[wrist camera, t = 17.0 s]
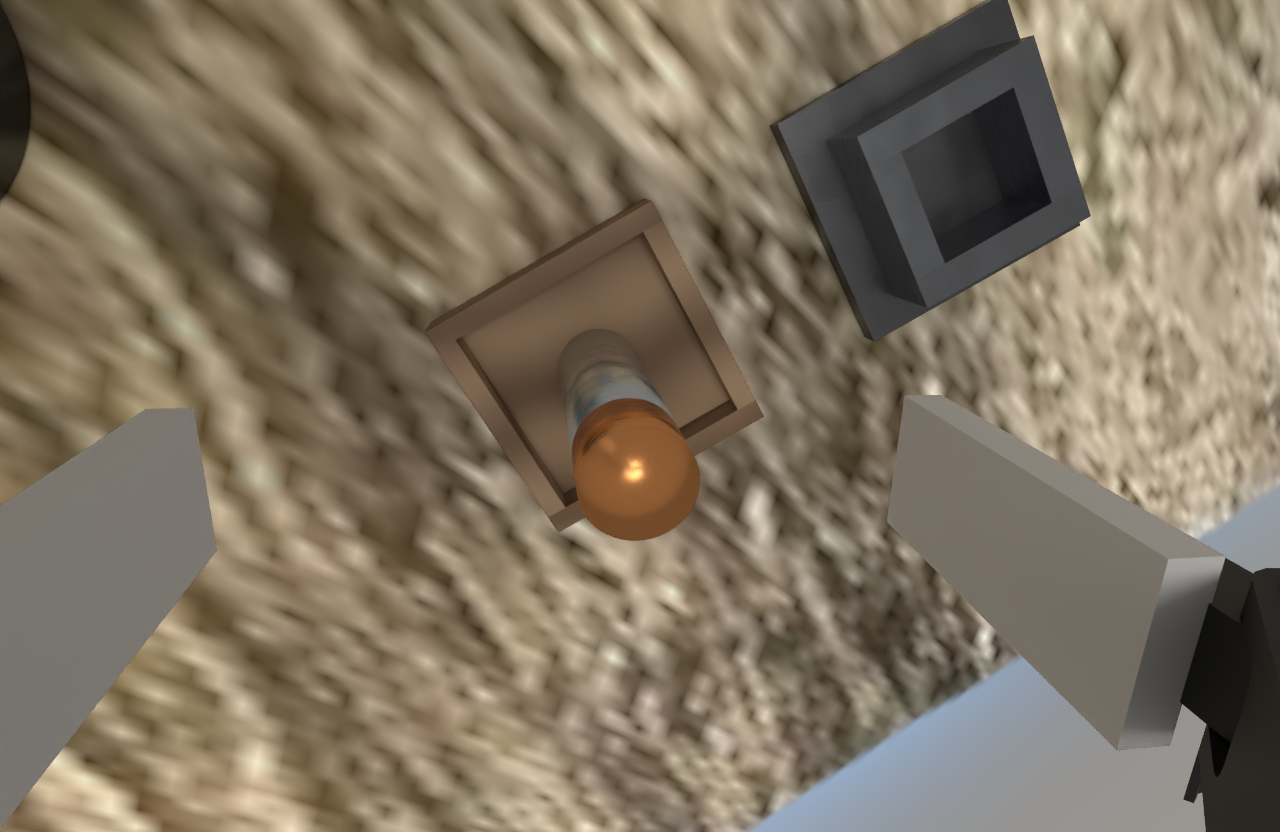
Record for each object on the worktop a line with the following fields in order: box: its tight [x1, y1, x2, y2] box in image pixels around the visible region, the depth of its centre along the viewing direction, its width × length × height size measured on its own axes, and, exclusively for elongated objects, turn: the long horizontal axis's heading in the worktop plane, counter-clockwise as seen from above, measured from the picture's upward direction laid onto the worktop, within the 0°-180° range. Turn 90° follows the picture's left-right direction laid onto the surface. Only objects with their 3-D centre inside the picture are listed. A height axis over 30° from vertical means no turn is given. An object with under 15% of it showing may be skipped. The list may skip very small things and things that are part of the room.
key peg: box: [559, 329, 700, 541], centre depth 32 cm, size 4×4×15 cm
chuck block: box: [770, 0, 1091, 341], centre depth 37 cm, size 12×12×5 cm
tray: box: [425, 199, 764, 532], centre depth 38 cm, size 12×12×3 cm
